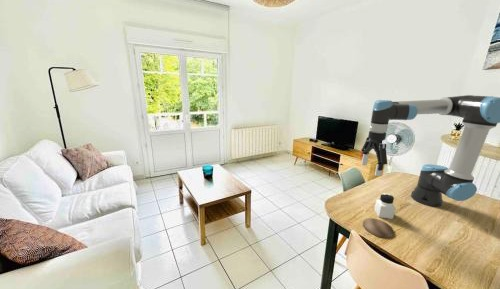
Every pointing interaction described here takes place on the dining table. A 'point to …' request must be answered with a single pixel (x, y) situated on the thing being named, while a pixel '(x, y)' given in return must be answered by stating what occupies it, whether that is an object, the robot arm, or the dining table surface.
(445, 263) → the dining table surface
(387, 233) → the walnut coaster
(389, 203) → the medicine bottle
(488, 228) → the dining table surface
